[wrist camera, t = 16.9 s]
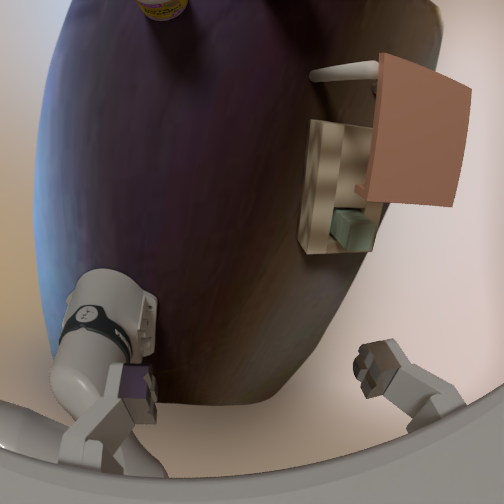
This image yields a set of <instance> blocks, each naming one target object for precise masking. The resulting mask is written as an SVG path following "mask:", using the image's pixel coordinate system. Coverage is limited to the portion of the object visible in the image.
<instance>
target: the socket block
mask: <svg viewBox="0 0 504 504" xmlns="http://www.w3.org/2000/svg"><path fill="white" fill-rule="evenodd" d="M372 132H373V128H369V127H363V126H357V125H351V124H344V123H337V122H330V121H322V120H313V119H309V120H308V131H307V142H306V152H305V162H304V172H303V181H302V190H301V199H300V208H299V216H298V224H297V232H296V238H297V240H298V241H299V243H300V244H301V246H302V247H303V249H304V251H305V252H306V254H325V253H352V252H372V250H373V246H374V242H375V238H376V234H377V229H378V225H379V221H380V216H381V212H382V207H383V202H372V201H366V200H364V199H363V198H362V197H360V196H359V195H357V194H356V193H355V192H354V190H355V184H365V180H366V174H367V168H368V161H369V154H370V147H371V140H372ZM334 207H349V208H356V209H357V210H358V211H360V212H361V213H362V214H363V215H364V216H366V217H367V218H368V219H369V220H370V221H372V222H373V223H374V224H375V225H376V229H375V233H374V237H373V241H372V245H371V249H370V250H367V251H346V250H345V249H344V247H343V246H342V245H341V244H340V243H339V242H338V240H337V239H336V238H335V237H334V236H333V235H332V234H331V232H330V227H331V221H332V215H333V209H334Z"/></svg>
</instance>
